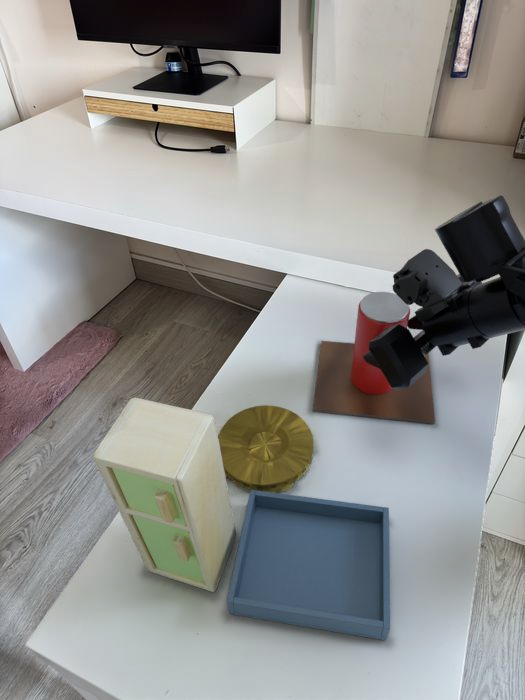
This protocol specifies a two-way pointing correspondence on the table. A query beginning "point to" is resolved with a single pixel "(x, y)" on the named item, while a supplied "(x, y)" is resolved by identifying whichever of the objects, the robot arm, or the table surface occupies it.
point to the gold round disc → (266, 448)
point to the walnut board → (347, 399)
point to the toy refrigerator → (170, 489)
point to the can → (371, 321)
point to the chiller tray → (313, 564)
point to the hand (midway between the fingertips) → (387, 341)
